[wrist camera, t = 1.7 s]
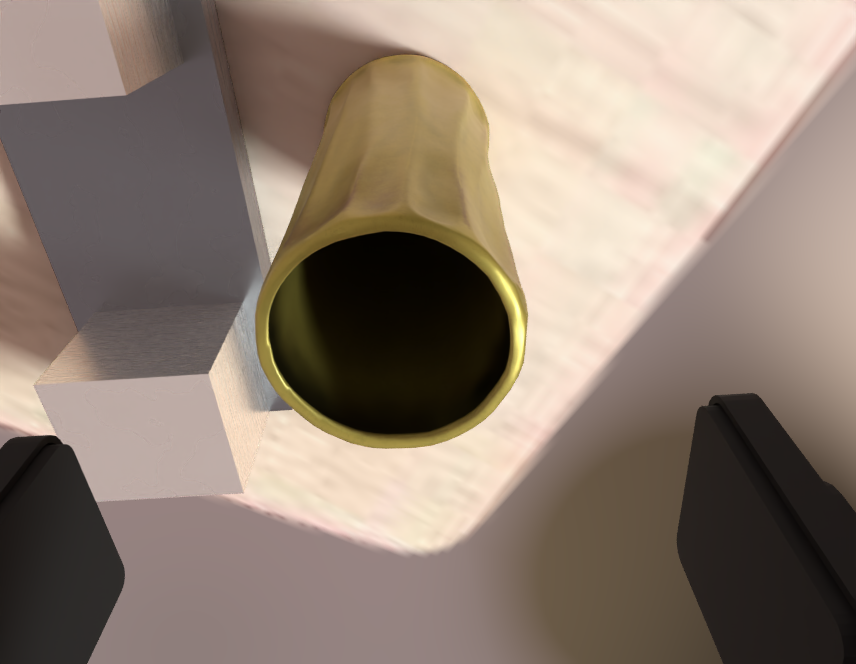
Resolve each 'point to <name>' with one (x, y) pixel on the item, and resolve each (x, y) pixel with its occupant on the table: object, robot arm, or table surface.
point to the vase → (395, 267)
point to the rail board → (141, 239)
